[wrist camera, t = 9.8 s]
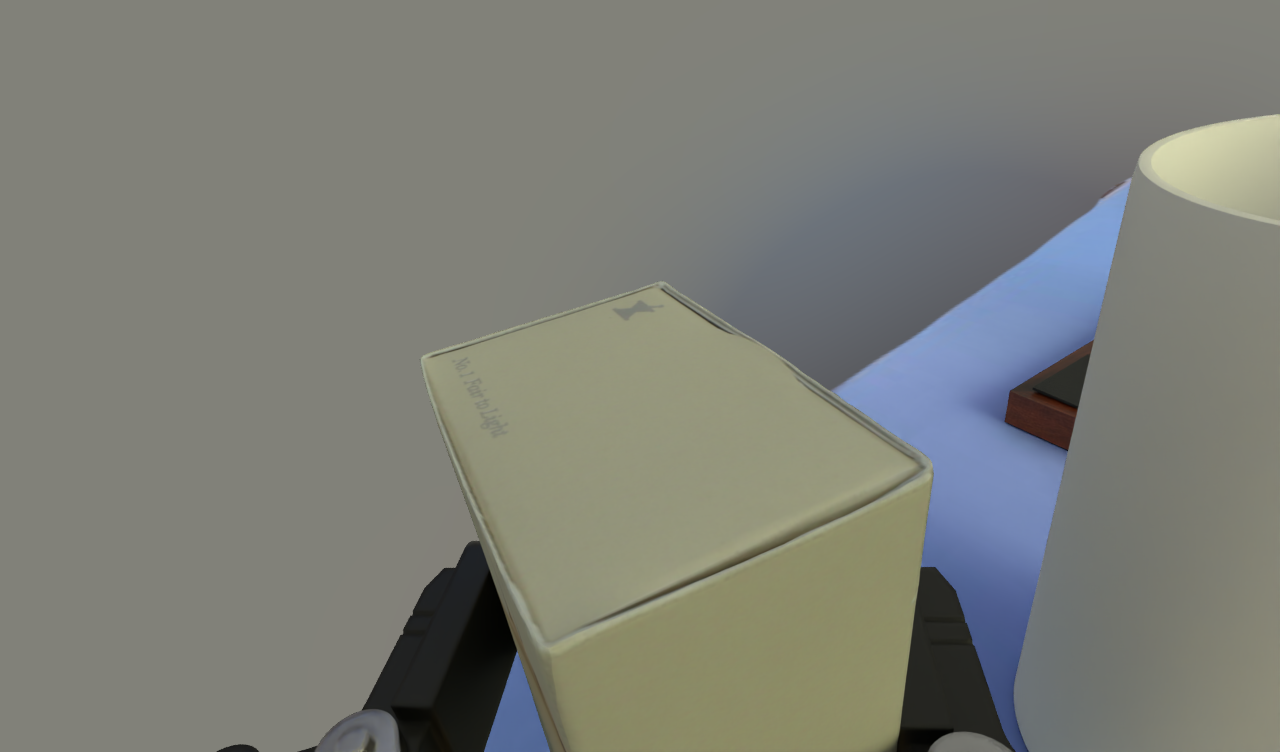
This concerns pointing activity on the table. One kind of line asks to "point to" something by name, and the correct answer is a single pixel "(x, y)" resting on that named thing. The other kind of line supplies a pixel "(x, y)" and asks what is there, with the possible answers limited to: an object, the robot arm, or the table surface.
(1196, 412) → the cup
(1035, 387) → the picture frame
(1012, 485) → the table surface
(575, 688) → the cosmetic box
